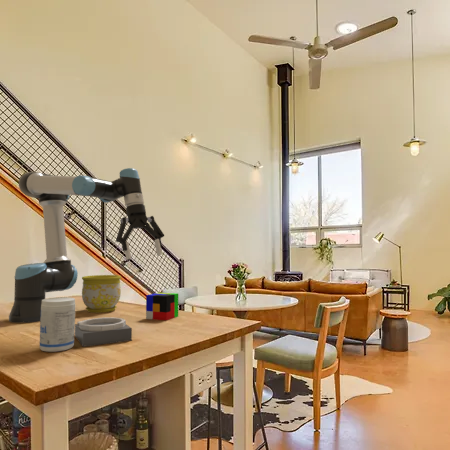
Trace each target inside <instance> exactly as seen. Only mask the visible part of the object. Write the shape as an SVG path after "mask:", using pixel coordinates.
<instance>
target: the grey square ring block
mask: <svg viewBox="0 0 450 450" xmlns="http://www.w3.org/2000/svg"><path fill="white" fill-rule="evenodd" d="M126 320H127V319H125V318H120V317H96V318H95V317H94V318H91V319H90V318H89V319H84V320H81V321H77V323H75V330H74V338H76V340H77V341H78V342H79V344H80V345H81V346H82V347H83V348H84V347H90V346H91V347H92V346H99V345H108V344H115V343H122V342H123V343H124V342H131V341H132V337H133V334H132V332H133V331H132V330H133V329H132V327H131V326H129V325H128V324H126V323H127V322H126Z"/></svg>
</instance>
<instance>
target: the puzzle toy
mask: <svg viewBox="0 0 450 450" xmlns="http://www.w3.org/2000/svg"><path fill="white" fill-rule="evenodd" d="M145 296H146V297H145V298H146V299H145V300H146V301H145V319H146V320H154V321H155V320H157V321H170V320H172V319H175V318H177V317H179V293H174V292H173V293H171V292H155V293H151V294H147V295H145Z"/></svg>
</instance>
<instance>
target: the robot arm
mask: <svg viewBox="0 0 450 450" xmlns="http://www.w3.org/2000/svg"><path fill="white" fill-rule="evenodd" d="M18 188H19V190H20V191H21V193H23V195H25V196H27V197H29V198H33V199H38V204H39V206H41V207H42V212H43V213H42V215H43V225H44V226H43V227H44V228H43V229H44V238H45V239H44V240H45V241H44V242H45V253H46V259H45V260H44V261H43V262H35V263H28V264H27V263H26V264H21V265H20V266H17V267H16V268H15V272H14V299H13V300H14V301H13V304H12V307H11V310H10V313H9V314H8V322H10V323H13V324H21V323H22V324H23V323H36V322H37V323H38V322H40V318H41V304H42V300H43V299H46V293H53V292H63V291H66V290H69V289H71V288H73V287H74V286H75V284H76V283H77V280H78V269H77V268H76V266H75V265H74V264H72V259H70V258H69V257H68V253H67V241H66V239H67V238H66V227H65V226H66V225H65V215H64V207H65V205H66V204H67V201H68V200H69V199H70V195H71V196H79V197H81V196H82V197H91V198H98V199H99V200H100V201H102V202H103V203H111V202H115V201H116V200H119V199H120V198H123V199H124V205H125V211H126V216H127V217H125V216H124V217H122V218H120V226H119V229H118V232H117V235H116V238H115V239H116V240H115V242H116V243H119V244H121V247H122V252H124V254H125V258H126V259H125V260H126V261H127V260H130V259H132V254H131V249H130V244H129V241H127V240H128V238H129V237H130V235H131V233H132V231H134V229H135V230H137V229H143V230H146V232H147V233H148V234H149V235H151V236H152V237H153V238H154V246H155V247H154V248H155V251H156V256H157V257H158V256H161V255H163V254H162V238H164V237H165V234H164V232H163V231H162V229H161V228H160V226H159V224H157V222H156V219H155V217H154V215H150V216H147V213H146V205H145V201H144V196H143V192H142V187H141V178H140V175H139V171H138V170H137V169H135V168H133V167H129V168H128V167H127V168H124V169H122V170H120V171H119V178H116V179H115V180H112V181H110V180H106V179H101V178H95V177H92V176H89V175H81V174H80V175H77V176H72V175H68V176H67V175H52V174H47V173H42V172H37V171H28V172H25V173H24V174H22V175H21V176H20V178H19V180H18ZM127 223H128V224H129V226H128V227H127V229H126V225H127ZM125 229H126V231H125Z"/></svg>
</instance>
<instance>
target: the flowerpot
mask: <svg viewBox="0 0 450 450" xmlns="http://www.w3.org/2000/svg"><path fill="white" fill-rule="evenodd" d="M81 279H82V280H83V281H82V289H81V297H82V298H81V299H82V302H83V304H84V305H85V306H86V307H85V310H86V311H87V312H88V313H95V314H98V313H101V314H102V313H111V312H113V311H114V312H115V309H117V305H118V303H119V301H120V299H121V296H122V295H121V291H122V290H121V289H122V288H121V279H122V276H121V275H118V274H117V275H116V274H100V275H99V274H97V275H86V276H85V275H84V276H82V277H81Z"/></svg>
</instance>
